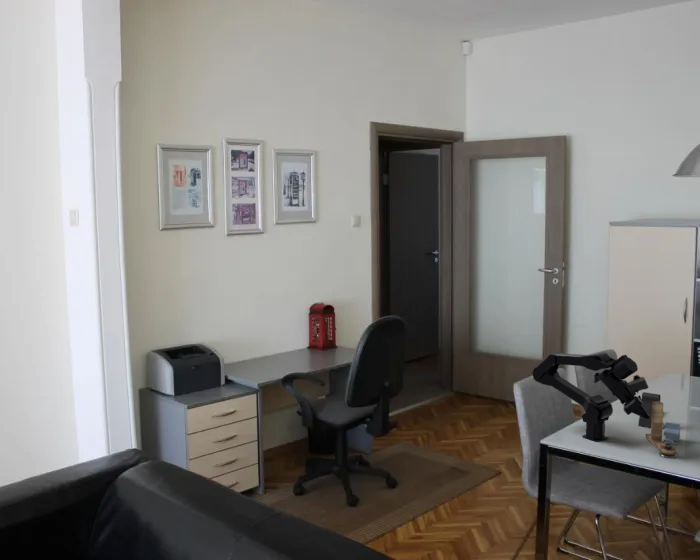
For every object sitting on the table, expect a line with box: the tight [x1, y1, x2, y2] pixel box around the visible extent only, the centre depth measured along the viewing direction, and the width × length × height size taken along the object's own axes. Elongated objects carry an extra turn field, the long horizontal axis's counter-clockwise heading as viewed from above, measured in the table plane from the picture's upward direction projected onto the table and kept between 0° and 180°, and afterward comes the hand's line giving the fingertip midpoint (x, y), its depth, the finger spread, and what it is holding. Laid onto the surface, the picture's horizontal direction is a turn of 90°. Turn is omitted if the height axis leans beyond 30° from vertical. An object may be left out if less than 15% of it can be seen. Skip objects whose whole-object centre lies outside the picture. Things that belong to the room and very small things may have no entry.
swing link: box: [645, 401, 677, 456], centre depth 246 cm, size 18×5×14 cm, turn 179°
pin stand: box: [658, 439, 678, 459], centre depth 240 cm, size 6×6×5 cm
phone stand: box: [637, 391, 661, 429], centre depth 273 cm, size 9×6×12 cm, turn 141°
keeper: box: [663, 420, 681, 442], centre depth 254 cm, size 7×4×6 cm, turn 150°
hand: (648, 418), depth 249 cm, fingers closed
